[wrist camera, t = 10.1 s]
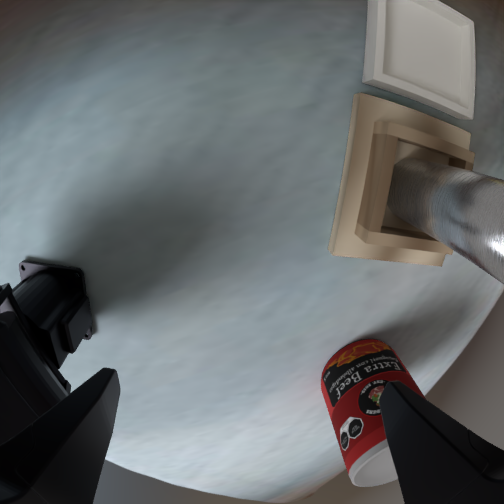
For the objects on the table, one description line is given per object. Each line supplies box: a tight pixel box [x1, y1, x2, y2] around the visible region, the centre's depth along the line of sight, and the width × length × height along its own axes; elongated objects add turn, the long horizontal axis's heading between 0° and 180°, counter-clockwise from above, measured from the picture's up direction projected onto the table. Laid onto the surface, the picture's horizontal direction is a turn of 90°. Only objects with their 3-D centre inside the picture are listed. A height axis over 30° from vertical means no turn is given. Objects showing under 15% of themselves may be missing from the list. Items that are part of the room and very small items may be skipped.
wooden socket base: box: [328, 93, 475, 266], centre depth 19 cm, size 10×11×3 cm
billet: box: [387, 158, 504, 284], centre depth 13 cm, size 4×4×12 cm
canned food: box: [321, 339, 426, 487], centre depth 21 cm, size 8×8×11 cm
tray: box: [362, 0, 475, 120], centre depth 15 cm, size 9×9×2 cm
